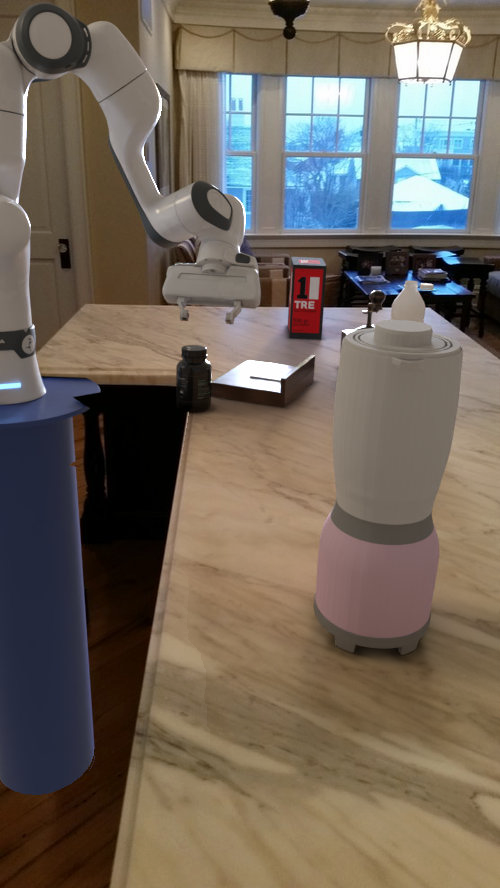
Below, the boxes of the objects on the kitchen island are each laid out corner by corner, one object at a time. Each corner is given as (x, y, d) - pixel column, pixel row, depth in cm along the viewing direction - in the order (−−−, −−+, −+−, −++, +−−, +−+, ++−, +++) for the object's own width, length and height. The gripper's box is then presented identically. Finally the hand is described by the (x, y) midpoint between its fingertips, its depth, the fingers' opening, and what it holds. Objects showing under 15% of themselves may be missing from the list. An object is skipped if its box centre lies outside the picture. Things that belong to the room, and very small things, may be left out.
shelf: (211, 396, 145) (211, 368, 143) (247, 372, 163) (248, 346, 160) (284, 407, 140) (285, 378, 138) (313, 381, 157) (315, 355, 155)
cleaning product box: (287, 325, 210) (291, 256, 203) (317, 326, 210) (322, 257, 203) (289, 338, 195) (293, 264, 188) (321, 339, 195) (326, 265, 188)
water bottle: (374, 401, 145) (387, 278, 136) (398, 397, 148) (413, 277, 139) (402, 414, 138) (418, 286, 129) (427, 410, 141) (444, 284, 132)
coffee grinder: (395, 380, 160) (404, 301, 154) (348, 380, 159) (355, 300, 152) (376, 362, 175) (384, 289, 168) (333, 362, 173) (338, 288, 167)
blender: (440, 662, 69) (492, 345, 58) (316, 657, 70) (343, 339, 58) (410, 575, 84) (447, 307, 72) (308, 571, 84) (328, 303, 72)
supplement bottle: (169, 405, 139) (169, 346, 134) (198, 399, 143) (199, 341, 138) (188, 415, 134) (188, 354, 129) (218, 409, 138) (219, 349, 133)
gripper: (166, 252, 146) (153, 308, 141) (263, 258, 143) (253, 315, 138) (172, 271, 152) (159, 326, 147) (265, 277, 149) (256, 332, 144)
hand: (206, 321), depth 142 cm, fingers open, 8 cm apart
